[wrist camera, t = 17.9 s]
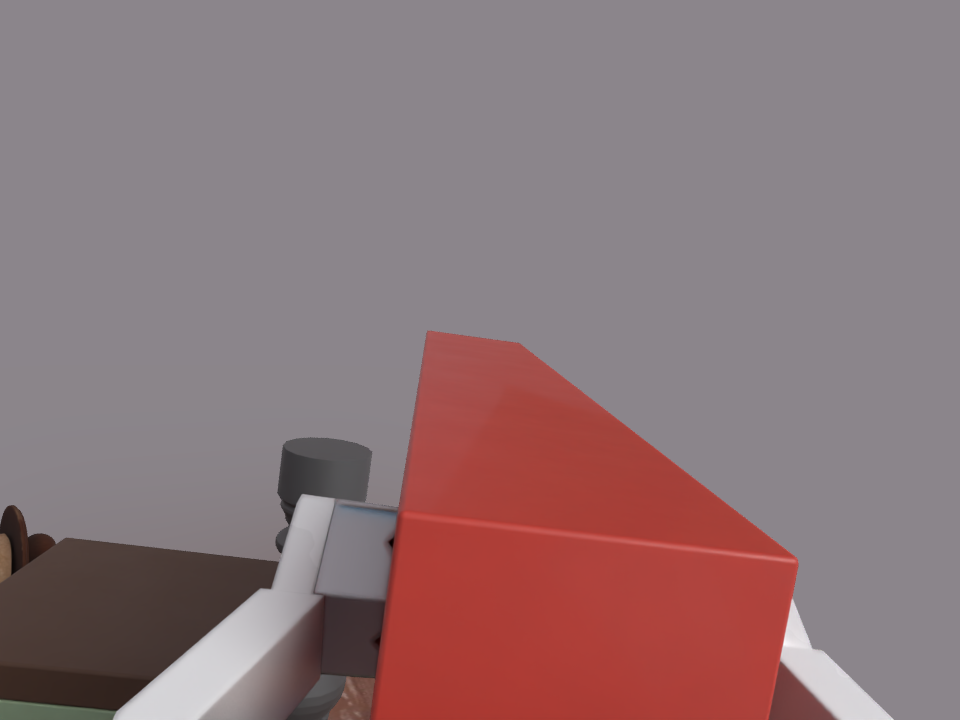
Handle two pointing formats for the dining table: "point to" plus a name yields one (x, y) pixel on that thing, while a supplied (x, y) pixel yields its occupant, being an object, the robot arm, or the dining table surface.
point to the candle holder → (328, 475)
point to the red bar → (565, 562)
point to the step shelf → (109, 622)
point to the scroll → (18, 543)
